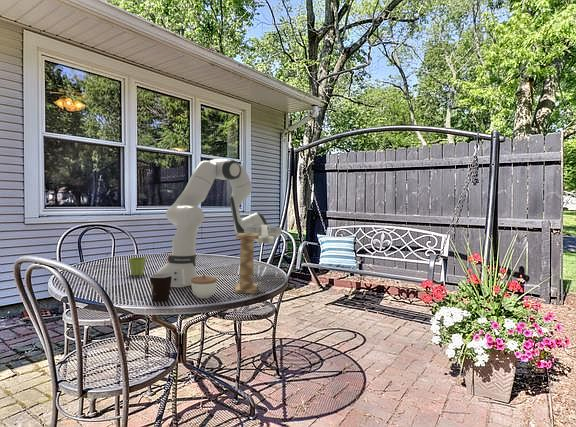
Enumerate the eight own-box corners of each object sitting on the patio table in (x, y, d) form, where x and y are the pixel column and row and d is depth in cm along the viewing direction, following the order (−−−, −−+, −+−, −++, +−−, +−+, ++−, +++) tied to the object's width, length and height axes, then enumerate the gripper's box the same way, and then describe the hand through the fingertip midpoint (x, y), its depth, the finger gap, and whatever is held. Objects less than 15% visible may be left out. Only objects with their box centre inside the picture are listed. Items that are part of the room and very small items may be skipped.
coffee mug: (169, 302, 146) (170, 277, 146) (147, 302, 145) (147, 277, 145) (174, 294, 158) (174, 271, 158) (153, 295, 157) (153, 272, 156)
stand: (234, 293, 163) (236, 235, 162) (235, 286, 175) (237, 232, 175) (257, 293, 164) (258, 235, 163) (256, 286, 176) (257, 233, 176)
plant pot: (123, 275, 194) (124, 259, 193) (136, 272, 203) (136, 256, 202) (138, 277, 191) (138, 260, 191) (150, 273, 200) (150, 258, 200)
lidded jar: (201, 292, 163) (202, 271, 163) (221, 295, 159) (221, 274, 158) (185, 297, 154) (185, 275, 153) (206, 301, 149) (206, 278, 149)
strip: (257, 242, 178) (257, 237, 177) (256, 228, 197) (256, 224, 196) (273, 243, 179) (274, 238, 178) (270, 229, 198) (271, 225, 197)
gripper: (244, 226, 206) (244, 221, 193) (279, 227, 209) (282, 223, 195) (243, 237, 205) (244, 233, 191) (279, 238, 207) (282, 234, 194)
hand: (264, 228), depth 193 cm, fingers closed on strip, 3 cm apart
